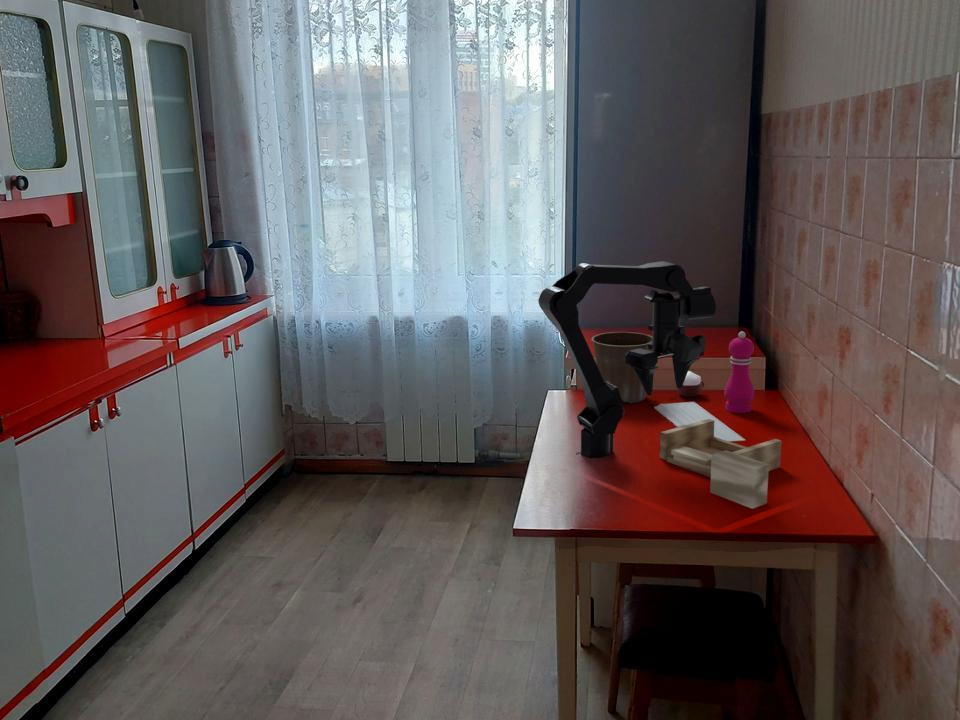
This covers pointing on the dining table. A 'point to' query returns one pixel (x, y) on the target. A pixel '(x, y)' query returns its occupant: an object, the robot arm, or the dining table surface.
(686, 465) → the offcut stack
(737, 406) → the pepper mill
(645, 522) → the dining table surface
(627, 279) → the robot arm
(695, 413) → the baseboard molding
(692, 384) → the cocoa
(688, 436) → the rack
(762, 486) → the beige wooden block
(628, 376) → the plant pot
